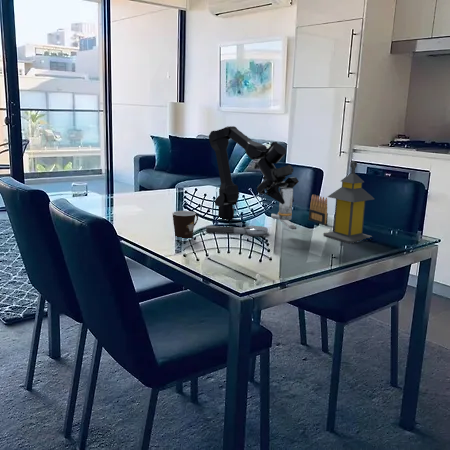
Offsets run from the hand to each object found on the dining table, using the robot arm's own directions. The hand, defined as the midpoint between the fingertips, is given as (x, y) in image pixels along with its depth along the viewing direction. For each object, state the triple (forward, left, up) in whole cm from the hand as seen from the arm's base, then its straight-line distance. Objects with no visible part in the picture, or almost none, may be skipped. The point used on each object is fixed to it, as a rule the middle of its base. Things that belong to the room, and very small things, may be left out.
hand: (288, 202), depth 192 cm
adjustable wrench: (0, +25, -14) cm, 29 cm away
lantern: (+24, +2, -14) cm, 28 cm away
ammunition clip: (+15, +26, -14) cm, 33 cm away
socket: (-1, +1, -7) cm, 7 cm away
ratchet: (-20, +2, -13) cm, 24 cm away
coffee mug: (-38, -10, -14) cm, 41 cm away
